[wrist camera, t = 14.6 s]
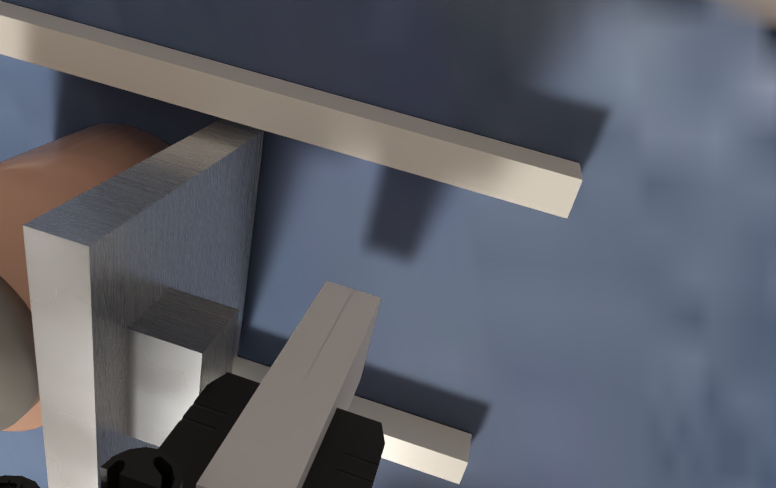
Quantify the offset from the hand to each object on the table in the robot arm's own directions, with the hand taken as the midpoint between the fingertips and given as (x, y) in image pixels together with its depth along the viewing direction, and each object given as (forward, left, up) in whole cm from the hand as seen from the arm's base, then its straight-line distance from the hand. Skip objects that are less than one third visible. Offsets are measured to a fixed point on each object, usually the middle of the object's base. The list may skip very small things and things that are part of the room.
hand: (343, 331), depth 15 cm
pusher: (-3, 0, -2) cm, 4 cm away
